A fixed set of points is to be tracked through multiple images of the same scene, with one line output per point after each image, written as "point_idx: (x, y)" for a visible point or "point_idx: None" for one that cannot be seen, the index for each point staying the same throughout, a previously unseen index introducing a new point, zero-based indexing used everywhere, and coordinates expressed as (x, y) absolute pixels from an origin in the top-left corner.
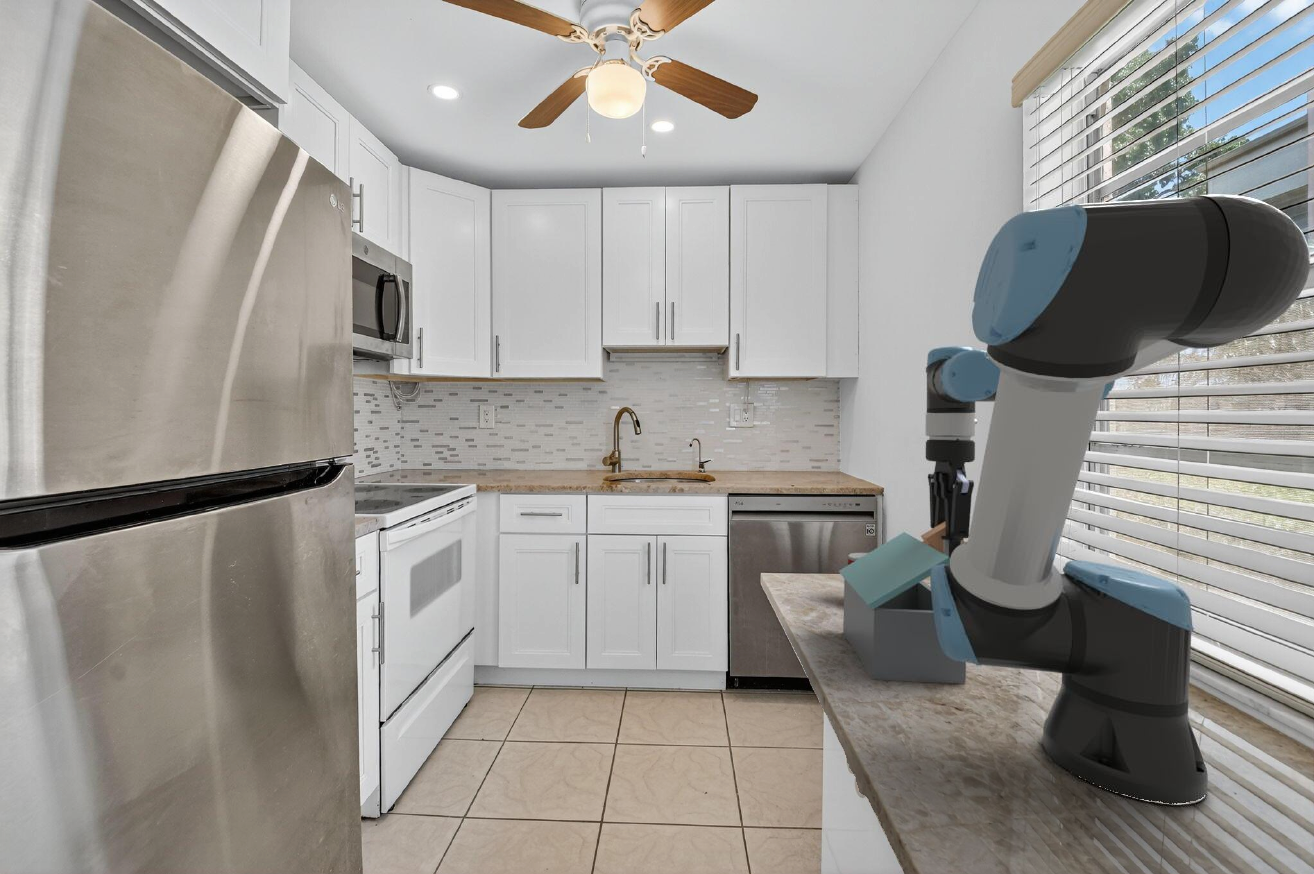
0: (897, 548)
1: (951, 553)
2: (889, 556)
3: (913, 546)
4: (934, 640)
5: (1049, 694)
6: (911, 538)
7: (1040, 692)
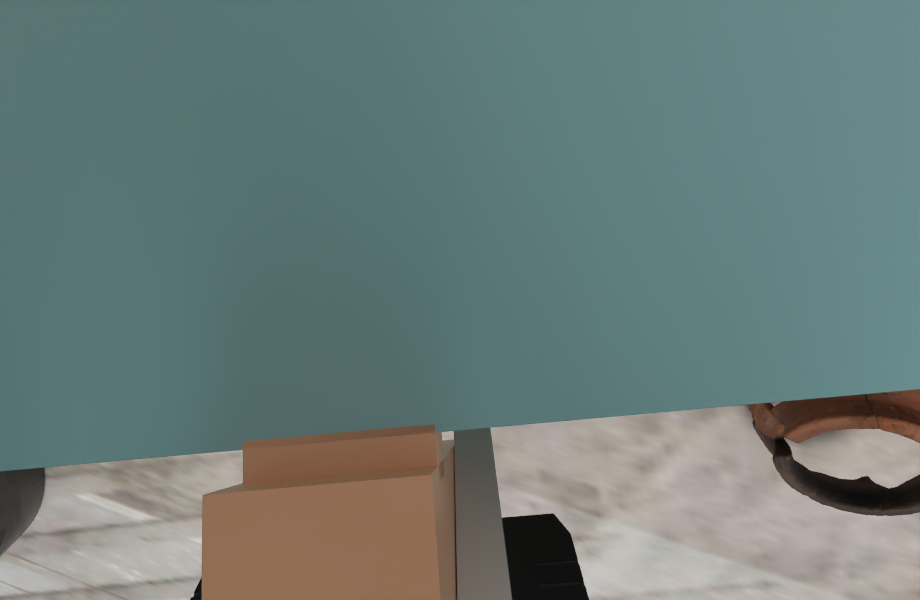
0: (656, 139)
1: (201, 589)
2: (535, 12)
3: (432, 303)
4: None
5: (236, 457)
6: (754, 367)
7: None
